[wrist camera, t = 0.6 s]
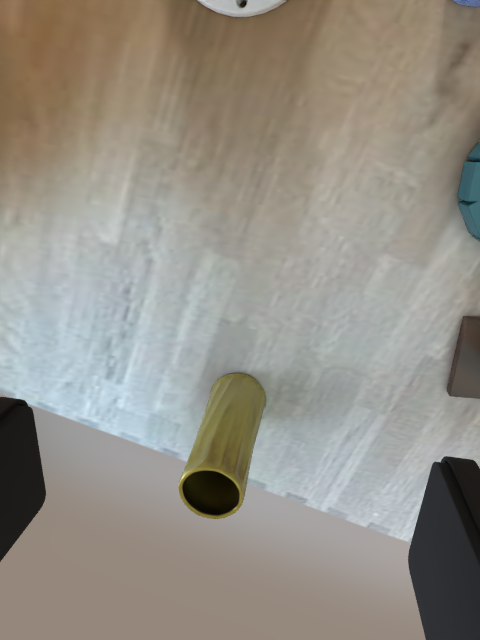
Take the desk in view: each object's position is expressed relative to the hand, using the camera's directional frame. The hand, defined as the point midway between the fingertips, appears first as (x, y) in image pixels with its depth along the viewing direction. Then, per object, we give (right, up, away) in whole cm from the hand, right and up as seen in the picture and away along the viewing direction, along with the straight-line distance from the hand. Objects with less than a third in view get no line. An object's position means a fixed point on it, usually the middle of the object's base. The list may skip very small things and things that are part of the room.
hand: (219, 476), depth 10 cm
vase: (0, -5, +37) cm, 37 cm away
